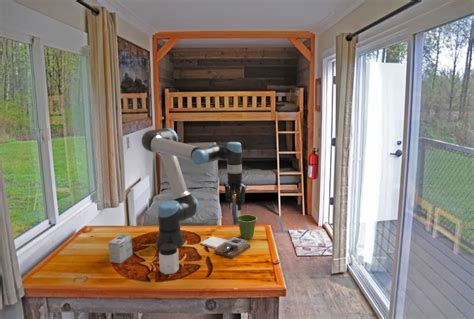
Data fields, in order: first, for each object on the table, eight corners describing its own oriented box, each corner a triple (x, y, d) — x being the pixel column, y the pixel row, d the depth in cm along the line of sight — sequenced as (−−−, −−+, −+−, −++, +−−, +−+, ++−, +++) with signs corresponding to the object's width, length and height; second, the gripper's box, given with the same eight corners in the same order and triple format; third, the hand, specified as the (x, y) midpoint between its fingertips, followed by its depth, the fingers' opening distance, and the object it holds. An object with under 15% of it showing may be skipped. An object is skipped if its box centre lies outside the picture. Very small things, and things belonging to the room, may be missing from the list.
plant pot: (234, 239, 215) (234, 220, 213) (239, 232, 227) (239, 214, 225) (255, 241, 213) (255, 222, 211) (258, 233, 224) (258, 215, 222)
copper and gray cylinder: (231, 224, 201) (230, 194, 198) (234, 222, 203) (234, 193, 200) (236, 225, 199) (235, 195, 196) (239, 223, 201) (238, 194, 198)
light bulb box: (122, 253, 200) (120, 233, 198) (133, 255, 198) (131, 235, 196) (109, 262, 190) (107, 241, 188) (120, 263, 188) (119, 243, 186)
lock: (214, 252, 198) (214, 245, 198) (232, 242, 211) (232, 235, 210) (233, 258, 192) (232, 251, 191) (250, 247, 204) (250, 240, 204)
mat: (200, 244, 210) (200, 242, 209) (212, 237, 218) (212, 236, 218) (216, 248, 203) (215, 247, 203) (228, 241, 212) (228, 240, 212)
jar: (160, 275, 175) (158, 251, 173) (159, 267, 183) (158, 244, 181) (179, 273, 177) (178, 249, 175) (178, 265, 185) (177, 242, 183)
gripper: (217, 171, 197) (219, 214, 202) (243, 175, 188) (244, 220, 193) (226, 169, 203) (227, 211, 208) (251, 172, 194) (252, 216, 199)
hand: (235, 215), depth 200 cm, fingers closed on copper and gray cylinder, 3 cm apart
